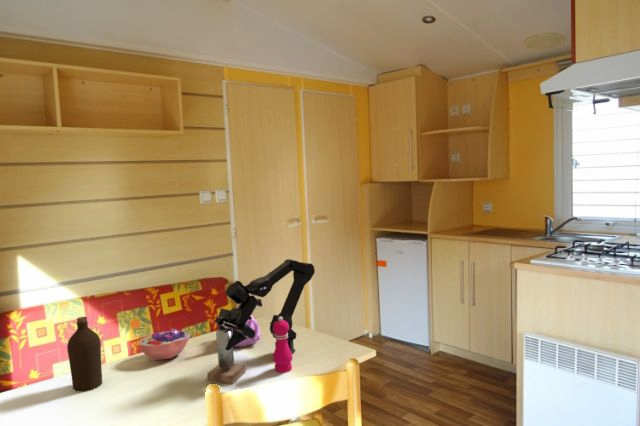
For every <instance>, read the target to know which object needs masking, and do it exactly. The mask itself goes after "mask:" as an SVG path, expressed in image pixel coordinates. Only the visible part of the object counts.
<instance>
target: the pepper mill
mask: <svg viewBox="0 0 640 426" xmlns="http://www.w3.org/2000/svg"><path fill="white" fill-rule="evenodd" d="M278 320H279V321H276V322H275V323H274V325H273V331H274V332H275V338H274V339H275V342H276V348H274V352H273V355H272V361H273V363H274V371H275V372H277V373H279V374H280V373H288V372H291V371H292V368H293V366H292V363H291V362H292V361H293V354H292V353H291V350H290V348H289V346H288V343H287V338H288V333H287V332H288V330H289V324H288V323H287V322H286V321H284V320H283V318H282V317H281V316H280V317H278Z"/></svg>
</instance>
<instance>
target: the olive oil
mask: <svg viewBox="0 0 640 426" xmlns="http://www.w3.org/2000/svg"><path fill="white" fill-rule="evenodd" d="M87 319H88V317H87V316H80V317H77V318H76V326H77V327H76V328H77V329H76V330H75V332H74V333H73V334H72V335H71V337H70V338H69V339H68V342H67V348H66V349H67V354H68V355H67V356H68V361H69V362H68V363H69V368H70V374H71V382H72V389H74V390H75V392H77V391H84V392H89V391H92V390H95V389H98V388H99V387H100V386H102V384H103V370H102V366H103V365H102V341H101V339H100V336H99V334H98V333H96V332H95V331H94V330H93V329H91V328H89V325H88V320H87ZM98 386H99V387H98ZM94 388H95V389H94ZM91 389H92V390H91ZM74 390H73V391H74ZM88 390H89V391H88Z"/></svg>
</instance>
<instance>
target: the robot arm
mask: <svg viewBox="0 0 640 426" xmlns="http://www.w3.org/2000/svg"><path fill="white" fill-rule="evenodd" d="M291 272H293V273H292V277H293V282H292V284H291V287H290V289H289V291H288V294H287V296H286V298H285V301H284V303H283V306H282V308H281V310H280V312H279V313H278V314H277V315H276V314H273V316H272V319H271V321H270V323H269V325H270V326H269V331H270V333H271V335H272V337H273V338H274V339H275V332H274V331H273V325H274V323H275V322H276V321H279V320H278V317H280V316H281V317H282V318H283V320H284V321H286V322H287V323H288V324H289V330H288V332H287V333H288V338H287V343H288V346H289V348H290V350H291V353H292V355H293V354H294V353H295V352H296V349H294V348H295V347H294V345H295V344H294V340H296V338H297V332H295V331H294V330H293V329H292V328H293V318H292V317H293V315H294V312H295V310H296V308H297V305H298V303H299V300H300V297H301V295H302V293H303V291H304V287H305V285H307V284H308V283H309V282H310V281H311V280H312V279H313V277H314V275H315V273H316V269H315V266H314V265H313V263H312V262H311V263H309V262H302V261H298V260H295V259H289V258H288V259H285V260H284V261H283V263H281V264H279V265H278V266H277V267H276V268H274V269H273V270H271V271H270V272H268V273H267V274H266V275H263V276H262V277H258V278H255V279H253V280H251V281H250V282H249V283H248V284H246V285H244V284H243V282H241V280H235V281H234V282H233V283H232V284H230V285H229V286H228V287H227V288H226V290H225V295H226V296H227V297H228V298H229V299H231V300H232V301H233V302H234V303H235V304H237V305H238V307H237V308H236V307H234V308H231V309H226V308H222V307H221V308H220V309H219V313H218V316H217V317H216V318H215V320H214V323H215V324H217V327H218V330H220V329H225V328H228V329H233V335H232V337H231V339H230V341H229V343H228V344H227V347H226V350H227V351H228V350H230V349H231V348H232V347H233V348H234V346H235V345H237V344H238V343H240V342H242V341H243V340H245V339H247V337H248V338H251V339H253V338H254V336H255V331H254V330H253V329H252V328H251V327H249V326H248V325H246V323H247V321H248V320H251V319H252V317H250V316H251V315H253V312H254V311H255V309H256V308H257V307H263V302H262V299H261V298H265V297H266V296H268V294H269V293H270V292H271V291H272V289H273V286H274V285H275V284H276V283H278V282H279V281H281V280H282V279H283V278H285V277H286V276H288V275H289V274H290V273H291ZM257 297H259V298H257ZM236 327H237V328H236ZM246 336H247V337H246ZM274 343H275V345H274V346H275V348H276V341H275V342H274ZM216 347H217V343H216ZM275 348H274V349H275Z"/></svg>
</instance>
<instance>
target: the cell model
mask: <svg viewBox="0 0 640 426" xmlns="http://www.w3.org/2000/svg"><path fill="white" fill-rule="evenodd" d="M190 337H191V334H190V333H189V332H187V331H183V330H178V329H176V328H171V330H169V331H167V330H165V331H161V332H158V331H157V332H154V333H152V334H151V335H148V336H145V337H143V338H141V339H140V341H139V342H138V345H139V347H140V349H141V351H142V353H143V354H144V355H145V356H147V357H148V358H150V359H151V360H154V361H161V360H170V359H173V358H174V357H176V356H178V355H180V354H181V353H182V352H183V350H184V349H185V347H186V346H187V344H188V342H189V339H190Z"/></svg>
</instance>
